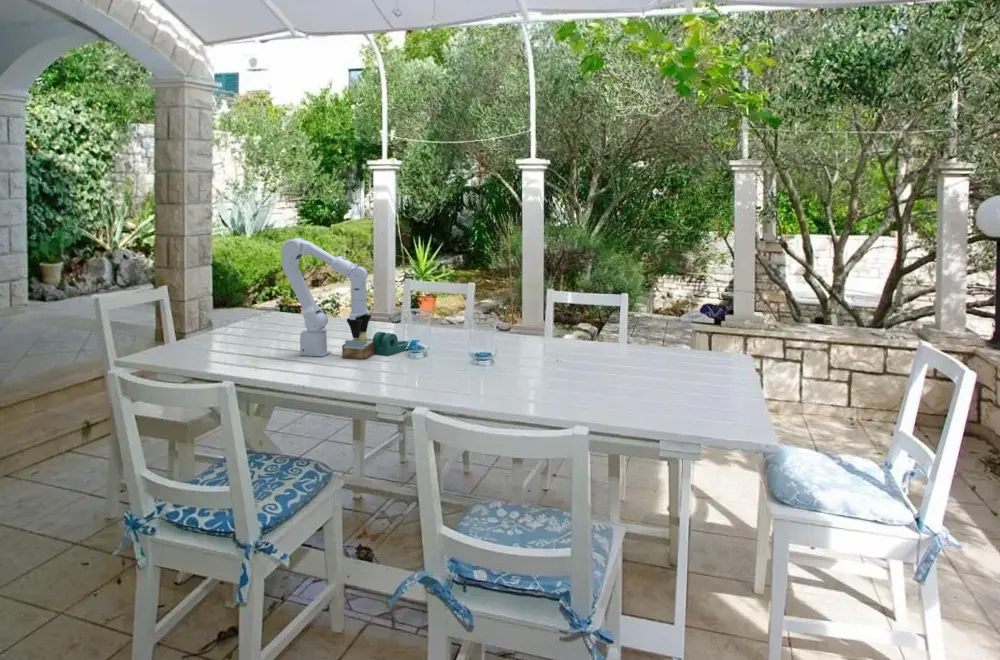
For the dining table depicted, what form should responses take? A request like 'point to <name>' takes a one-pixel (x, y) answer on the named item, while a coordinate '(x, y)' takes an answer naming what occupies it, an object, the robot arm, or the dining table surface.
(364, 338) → the tape roll
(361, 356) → the pencil box
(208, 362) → the dining table surface
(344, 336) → the dining table surface
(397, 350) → the bracket
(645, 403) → the dining table surface
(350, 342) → the lid
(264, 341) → the dining table surface
